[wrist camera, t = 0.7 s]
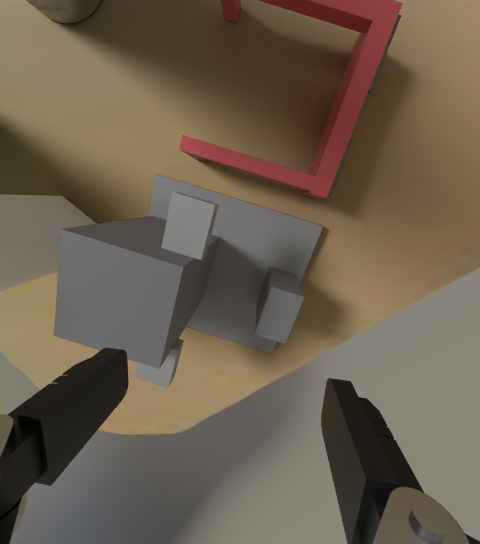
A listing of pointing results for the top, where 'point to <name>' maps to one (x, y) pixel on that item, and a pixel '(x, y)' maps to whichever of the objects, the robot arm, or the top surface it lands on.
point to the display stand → (182, 277)
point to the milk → (33, 235)
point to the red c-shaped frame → (348, 102)
